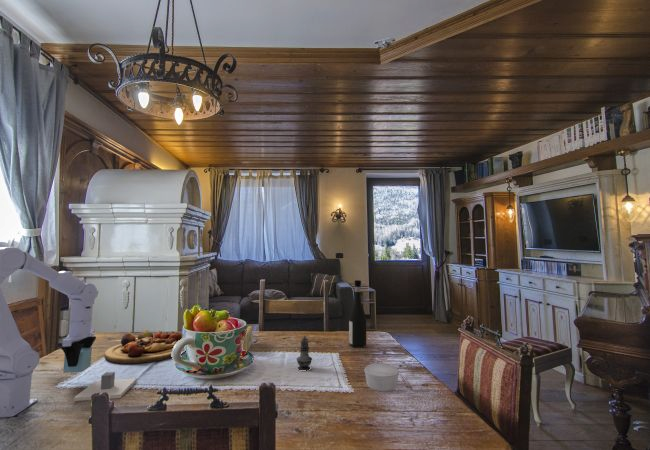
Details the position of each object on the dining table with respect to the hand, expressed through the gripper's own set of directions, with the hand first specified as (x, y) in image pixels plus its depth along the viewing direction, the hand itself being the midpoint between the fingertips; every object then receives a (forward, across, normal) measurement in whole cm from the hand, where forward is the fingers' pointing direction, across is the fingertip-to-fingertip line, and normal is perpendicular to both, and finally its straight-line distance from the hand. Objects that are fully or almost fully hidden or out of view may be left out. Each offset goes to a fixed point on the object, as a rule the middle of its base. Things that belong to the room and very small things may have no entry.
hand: (77, 363), depth 104 cm
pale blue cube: (+2, 0, 0) cm, 2 cm away
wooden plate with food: (+7, +33, -11) cm, 35 cm away
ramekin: (+7, -17, -97) cm, 99 cm away
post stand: (+6, -7, -12) cm, 15 cm away
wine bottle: (+6, +27, -102) cm, 106 cm away
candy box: (+7, +30, -52) cm, 60 cm away
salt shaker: (+7, +2, -74) cm, 74 cm away
